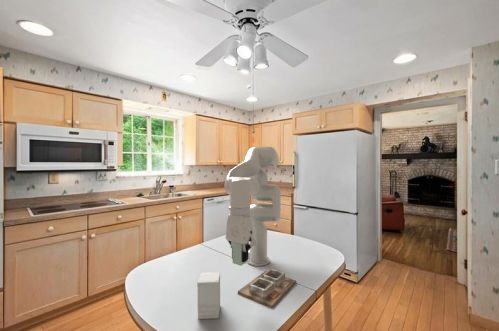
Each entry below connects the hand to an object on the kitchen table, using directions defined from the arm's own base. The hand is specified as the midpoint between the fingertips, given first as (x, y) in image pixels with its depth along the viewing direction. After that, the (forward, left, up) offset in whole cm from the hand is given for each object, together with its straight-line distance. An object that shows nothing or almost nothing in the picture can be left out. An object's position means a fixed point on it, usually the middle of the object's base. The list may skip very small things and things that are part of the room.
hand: (240, 259), depth 85 cm
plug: (0, 0, -1) cm, 1 cm away
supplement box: (-6, -10, -17) cm, 21 cm away
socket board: (+3, +16, -17) cm, 23 cm away
